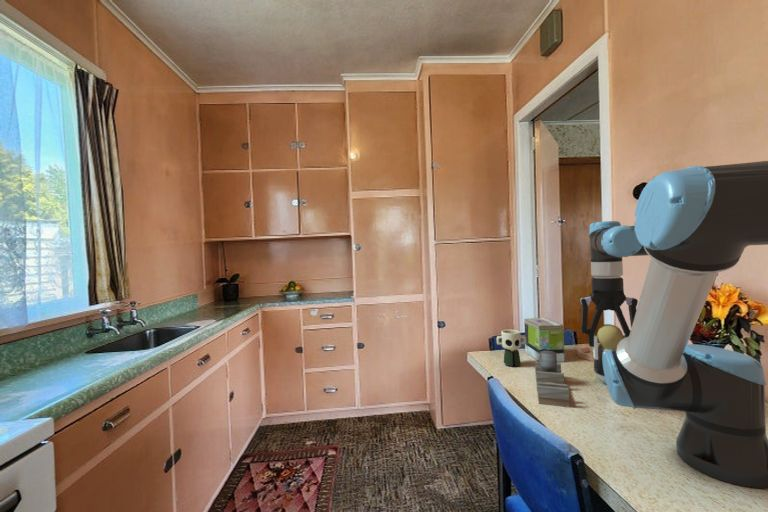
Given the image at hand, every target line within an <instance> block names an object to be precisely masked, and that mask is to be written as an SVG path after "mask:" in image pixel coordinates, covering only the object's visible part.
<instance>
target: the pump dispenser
mask: <svg viewBox="0 0 768 512" xmlns="http://www.w3.org/2000/svg"><path fill="white" fill-rule="evenodd" d="M602 348H603V347H602V345H601V344H600V343H598V360H596V359H594V361H593V372H594V373H595V376H596V378H597V379H598V380H599V381H600V382H601V383H603V384H604V385H607V383H606V379H605V375H604V369H603V361H602V355H603V354H602Z"/></svg>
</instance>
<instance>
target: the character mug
mask: <svg viewBox="0 0 768 512" xmlns="http://www.w3.org/2000/svg"><path fill="white" fill-rule="evenodd" d="M500 339H501V341H500ZM525 344H526V337H525V335H521V331H520V330H517V329H502V330H501V335H498V336H496V345H498V346H499V345H501V347H502V348H503V349H504V351H503V352H504V354H503V363H504V365H506V366H510V367H513V366H514V365H515V367H518V366H520V365H521V364H522V363H521V357H520V351H519V349H521V347H522V345H525Z"/></svg>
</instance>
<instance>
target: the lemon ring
mask: <svg viewBox="0 0 768 512" xmlns="http://www.w3.org/2000/svg"><path fill="white" fill-rule="evenodd" d="M588 352H592V353H593V347H590V345H589V346H588V345H586V346H581V347H577V348H576V353H577V355H578V358H581V359H584V360H587V361H591V362H594V359H595V358H594V357H593V354H590V353H588Z"/></svg>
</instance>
